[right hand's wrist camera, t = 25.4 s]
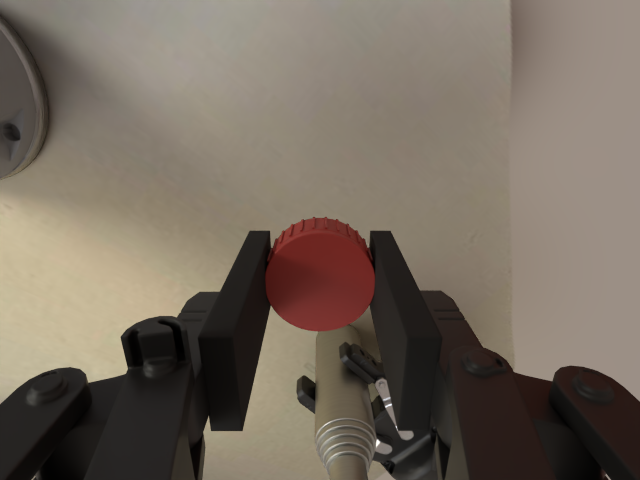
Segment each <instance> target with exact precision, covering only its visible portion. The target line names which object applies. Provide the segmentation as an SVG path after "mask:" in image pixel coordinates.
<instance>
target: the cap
mask: <svg viewBox="0 0 640 480" xmlns="http://www.w3.org/2000/svg"><path fill="white" fill-rule="evenodd" d="M267 262H268V265H267V269H266V272H265V282H266V295H267V298H268V300H269V302H270V304H271V306H272V307H273V309H274V310H275V311H276V313H277V314H278V315H279V316H280V317H282V318H283V319H284V320H285V321H287V322H288V323H290V324H292V325H294V326H296V327H299V328H301V329H305V330H310V331H330V330H335V329H339V328H342V327H344V326H346V325H348V324H350V323H352V322H354V321H355V320H356V319H358V318H359V317H360V316H361V315H362V314H363V313H364V312H365V310H366V309H367V308H368V306H369V305H370V303H371V301H372V299H373V296H374V287H375V271H374V268H373V264H372V262H373V258H372V255H371V252H370V249H369V248H367V245H366V242H365V239H364V238H363V239H362V238H361V236H360V235H359V234H358V231H357V230H356V231H355V230H353V229H352V228H351V227H349V224H344V223H342V222H339V221H338V219H336V220H333V219H327V217H325V218H315V217H313V219H308V220H304V219H303V220H301V222H298V223H296V224H294V225H293V224H291V227H289V228H288V229H287V230H286V231H284V230H283V231H282V234H281V236H280V237H279V238H278V239H276V240H275V242H274V246H273V248H271V249H270V253H269V256H268V259H267Z"/></svg>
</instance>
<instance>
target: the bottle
mask: <svg viewBox="0 0 640 480" xmlns="http://www.w3.org/2000/svg"><path fill="white" fill-rule="evenodd" d="M344 342H347V343H348V344H350V345H351V344H353V343H354V344H357V345H359V346H360V347H361V348H362V346H361V340H360V336H359V333H358V332H357V330H356V329H355V328H353V327H352V326H350V325H346V326H344V327H342V328H339V329H335V330H330V331H320V332H319V333H318V335H317V338H316V388H315V445H316V449H317V453H318V455H319V457H320V459H321V461H322V462H323V465H324V467H325V468H326V471H327V473H328V474H329V475H330V480H368V476H367V473H368V471H369V468H370V465H371V462H372V459H373V456H374V453H375V450H376V442H377V438H376V431H375V425H374V419H373V413H372V407H371V401H370V395H369V389H368V383H366V382H365V381H364V380H363V379H362V378H361V377H359V376H358V375H357V374H356V373H354V372H353V371H352V370H351V369H349V368H348V367H347V366H346V365H345V364H343V362H342V361H341V360H340V356H339V346H340V345H342V344H343V343H344Z"/></svg>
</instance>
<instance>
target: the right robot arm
mask: <svg viewBox="0 0 640 480" xmlns="http://www.w3.org/2000/svg"><path fill="white" fill-rule="evenodd" d="M47 127H48V101H47V95H46V90H45V87H44V83H43V80H42V77H41V74H40V72H39V69H38V67H37V65H36V63H35V61H34V59H33V57H32V55H31V54H30V52H29V50H28V48H27V47H26V45H25V44H24V43H23V41H22V40H21V38H20V37H19V36H18V34H17V33H16V32H15V31H14V29H13V28H12V27H11V26H10V25H9V24H8V23H7V22H6V21H5V20H4V19H3V18H2V17H1V16H0V180H1V179H4V178H7V177H9V176H12V175H14V174H16V173H18V172H20V171H21V170H22V169H24V168H25V167H26V166H28V165H29V164H30V163H31V162H32V160H33V159H34V158H35V157H36V155H37V154H38V152H39V151H40V149H41V147H42V145H43V142H44V139H45V136H46V132H47ZM270 249H271V241H270V231H250V232H249V234H248V236H247V238H246V240H245V242H244V244H243V246H242V248H241V250H240V252H239V254H238V256H237V258H236V260H235V262H234V264H233V266H232V268H231V270H230V272H229V275H228V277H227V279H226V281H225V283H224V285H223V287H222V289H221V291H220V292H199V293H197V294H196V295H195V296H193V297H192V298H190V299H189V300H188V301H187V302H186V304H185V305H184V307H183V309H182V310H181V313H180V314H179V315H178V317H177V318H176V317H173V316H159V317H154V318H148V319H146V320H143V321H141V322H138V323H136V324H134V325H133V326H131V327H130V328H128V329H127V330H126V331H125V332H124V333H123V335H122V336H121V341H122V345H123V349H124V354H125V358H126V362H127V366H128V370H127V373H126V374H124V375H121V376H117V377H114V378H109V379H105V380H100V381H95V382H91V383H88V380H87V377H86V374H85V373H84V372H83V371H82V370H80V369H76V368H71V367H69V368H58V369H54V370H51V371H47V372H44V373H42V374H40V375H38V376H36V377H34V378H32V379H30V380H28V381H27V382H25V383H24V384H23V385H21V386H20V387H19V388H17V389H16V390H15V391H14V392H13V393H12V394H11V395H10V396H9V397H8V398H7V399H6V400H4V401H3V402H2V403H1V404H0V480H31V479H32V478H33V477H34V476H36V477H35V478H34V480H202V476H203V466H204V456H205V441H204V435H203V431H204V428H205V425H206V422H207V419H208V416H209V419H210V426H211V431H243V426H244V422H245V417H246V413H247V408H248V404H249V400H250V395H251V391H252V386H253V382H254V377H255V373H256V368H257V364H258V360H259V355H260V351H261V346H262V342H263V337H264V333H265V329H266V324H267V320H268V315H269V311H270V306H271V304H270V302H269V300H268V298H267V295H266V282H265V272H266V269H267V265H268V262H267V259H268V256H269V253H270ZM369 249H370V252H371V255H372V258H373V262H372V264H373V268H374V271H375V287H374V296H373V299H372V301H371V303H370V310H371V314H372V319H373V323H374V328H375V332H376V336H377V341H378V345H379V350H380V354H381V359H382V363H383V367H384V372H385V376H386V381H387V385H388V390H389V394H390V398H391V403H392V407H393V412H394V416H395V421H396V425H397V429H398V431H429V428H430V421H431V414H432V416H433V419H434V422H435V425H436V428H437V435H436V441H435V448H434V454H433V460H432V467H431V470H433V471H436V468H437V475H438V480H608V478H607V477H606V476H605V475H606V474H607V475H608V476H609V478H610V479H611V480H640V402H639V401H638V400H637V399H636V398H635V397H634V396H633V395H632V394H631V393H630V392H629V391H628V390H626V389H625V388H624V387H623V386H622V385H620V384H619V383H618V382H616V381H615V380H614V379H612V378H611V377H608V376H606V375H604V374H602V373H600V372H598V371H595V370H593V369H589V368H585V367H579V366H567V367H562V368H560V369H559V370H557V371H556V372H555V375H554V378H553V381H548V380H543V379H538V378H534V377H529V376H525V375H521V374H518V373H515V372H513V370H512V368H511V366H510V365H509V363H508V362H507V361H506V360H505V359H504V358H503V357H501V356H500V355H499V354H497V353H495V352H493V351H491V350H488V349H486V348H483V347H482V345H481V343H480V342H479V340H478V339H477V337H476V335H475V334H474V332H473V331H472V329H471V327H470V326H469V324H468V323H467V321H466V320H465V318H464V316H463V315H462V313H461V312H459V308H458V307H457V305H456V304H455V302H454V300H453V299H452V298H450V297H449V296H447V295H446V294H445V293H443V292H442V291H420V290H419V288H418V286H417V284H416V282H415V280H414V278H413V276H412V274H411V272H410V270H409V268H408V266H407V264H406V262H405V260H404V258H403V256H402V254H401V251H400V249H399V247H398V245H397V243H396V241H395V239H394V237H393V235H392V233H391V231H370V246H369Z"/></svg>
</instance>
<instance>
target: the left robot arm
mask: <svg viewBox="0 0 640 480" xmlns="http://www.w3.org/2000/svg"><path fill="white" fill-rule="evenodd" d="M339 356H340V360H341V361H342V362H343V364H345V365H346V366H347V367H348V368H349V369H351V370H352V371H353V372H354V373H356V374H357V375H358V376H359V377H361V378H362V379H363V380H364V381H365V382H366V383H368V384H371V383H372V382H373V383H374V384H375V387H376V389H377V391H378V393H379V394H380V395H379V396H377V397H376V399H375V400H374V401H373V402H372V403H371V407H372V413H373V419H374V425H375V431H376V438H377V442H376V450H375V453H374V456H373V459H372V460H374V461H377V462H380V463H381V464H382V465H383V466H384V468H385V469H386V470H387V471H388V473H389V474H390V475H391V476H392V477H393V478H394V479H396V480H438V475H437V468H436V471H433V470H431V467H432V460H433V454H434V448H435V441H436V435H437V428H436V425H435V422H434V419H433V416H432V414H431V421H430V428H429V431H398V429H397V425H396V421H395V416H394V412H393V407H392V403H391V398H390V394H389V390H388V385H387V381H386V376H385V372H384V367H383V363H382V361H377V360H375V359H374V358H373V357H372V356H371V355H369V354H368V353H367V352H366V351H365V350H364V349H362V348H361V347H360V346H359V345H357V344H354V343H353V344H351V345H350V344H348V343H347V342H344V343H343V344H342V345H340V346H339ZM315 388H316V384H315V383H314V382H313V381H312V380H310V379H309V378H308V377H306V376H302V377H301V378H300V379H298V380H297V395H298V397H297V399H298V400H299V402H300V403H301V404H302V405H303V406H305V407H306V408H308V409H309V410H310V411H312V412H313V413H314V414H315Z"/></svg>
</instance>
